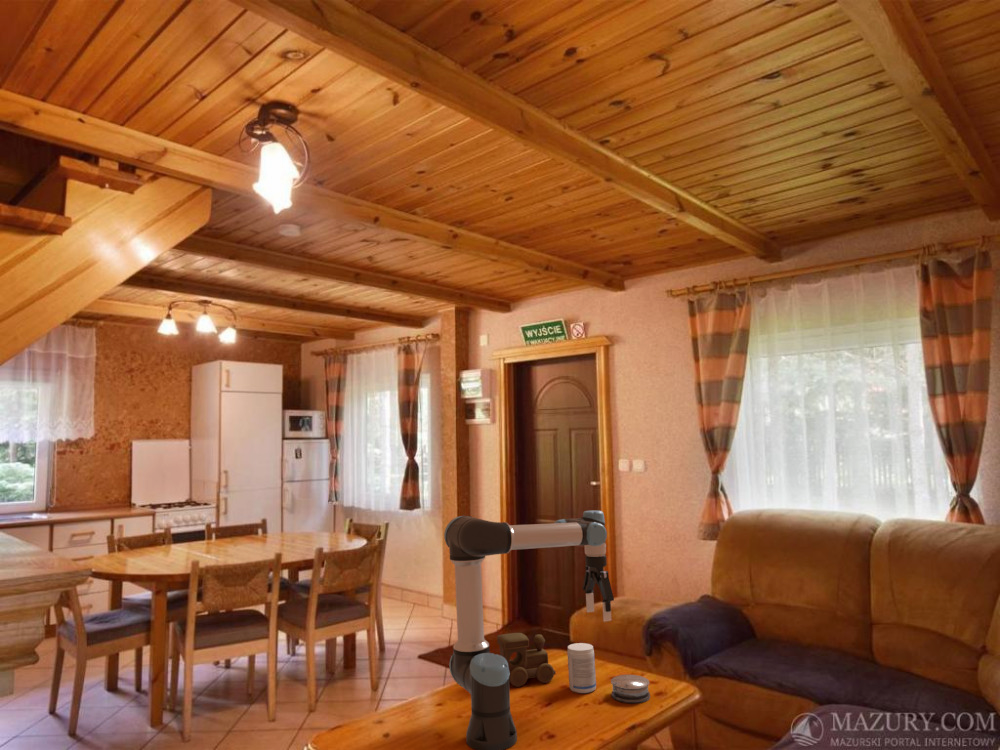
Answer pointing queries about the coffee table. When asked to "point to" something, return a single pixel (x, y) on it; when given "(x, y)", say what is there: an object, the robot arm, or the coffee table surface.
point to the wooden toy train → (525, 658)
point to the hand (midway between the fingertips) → (598, 616)
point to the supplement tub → (581, 668)
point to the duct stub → (630, 689)
